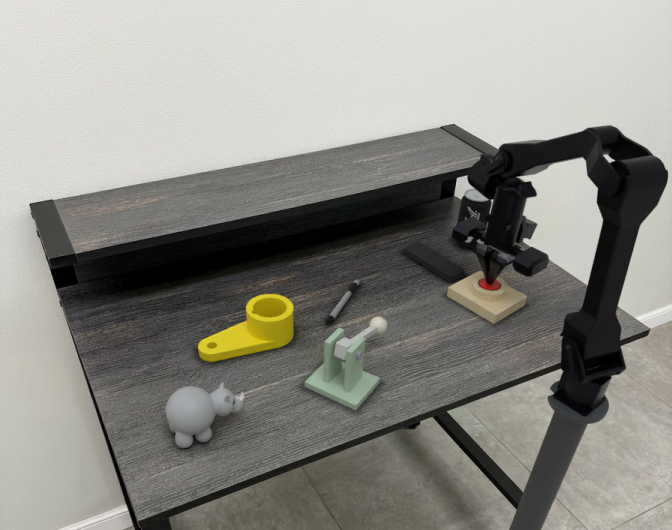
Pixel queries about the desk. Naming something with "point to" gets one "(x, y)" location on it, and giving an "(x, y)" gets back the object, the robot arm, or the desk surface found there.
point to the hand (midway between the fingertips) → (489, 283)
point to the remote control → (434, 261)
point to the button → (491, 287)
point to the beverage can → (473, 213)
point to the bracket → (343, 374)
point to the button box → (486, 298)
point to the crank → (253, 330)
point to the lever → (375, 327)
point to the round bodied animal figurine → (198, 412)
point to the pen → (342, 301)
